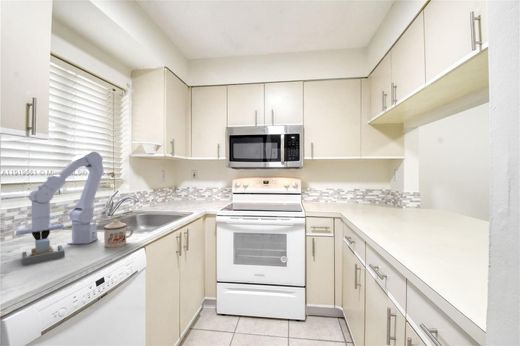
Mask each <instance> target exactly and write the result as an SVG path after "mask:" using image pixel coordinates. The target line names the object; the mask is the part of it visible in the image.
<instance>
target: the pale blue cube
mask: <svg viewBox="0 0 520 346" xmlns="http://www.w3.org/2000/svg"><path fill="white" fill-rule="evenodd" d="M34 240H35V239H34ZM50 242H51V241H50V238H49V237H47V238H46V239H40V240H35V245H34V246H35V250H36V252H41V251H46V250H50V246H51V245H50Z"/></svg>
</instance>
